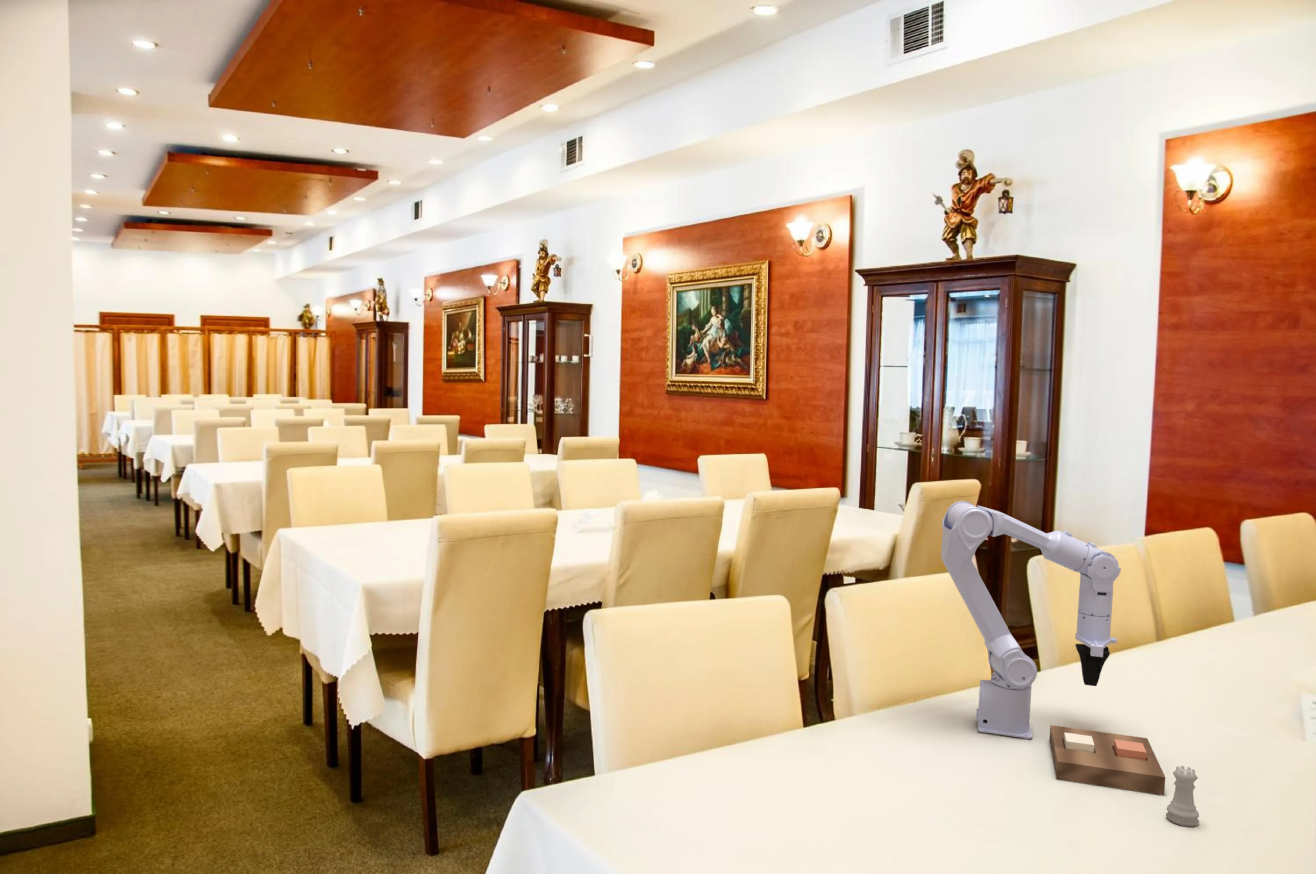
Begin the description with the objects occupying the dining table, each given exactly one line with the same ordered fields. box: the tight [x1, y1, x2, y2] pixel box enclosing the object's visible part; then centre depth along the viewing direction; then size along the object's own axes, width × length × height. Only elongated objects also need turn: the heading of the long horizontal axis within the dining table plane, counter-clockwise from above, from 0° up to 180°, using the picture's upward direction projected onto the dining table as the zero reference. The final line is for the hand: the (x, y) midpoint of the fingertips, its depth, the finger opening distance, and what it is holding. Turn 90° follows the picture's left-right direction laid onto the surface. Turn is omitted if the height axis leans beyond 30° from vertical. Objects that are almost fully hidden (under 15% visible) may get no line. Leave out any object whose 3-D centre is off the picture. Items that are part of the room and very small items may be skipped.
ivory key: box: [1064, 732, 1094, 753], centre depth 166 cm, size 4×4×4 cm
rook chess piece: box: [1165, 765, 1200, 828], centre depth 145 cm, size 4×4×8 cm
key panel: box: [1049, 724, 1166, 796], centre depth 165 cm, size 16×18×3 cm
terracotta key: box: [1114, 739, 1147, 760], centre depth 163 cm, size 4×4×4 cm
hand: (1090, 684), depth 180 cm, fingers closed
